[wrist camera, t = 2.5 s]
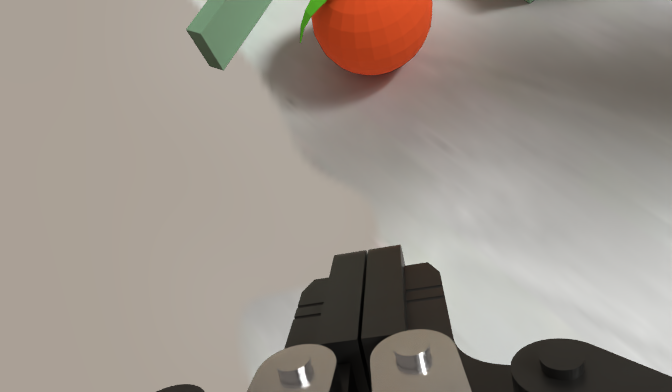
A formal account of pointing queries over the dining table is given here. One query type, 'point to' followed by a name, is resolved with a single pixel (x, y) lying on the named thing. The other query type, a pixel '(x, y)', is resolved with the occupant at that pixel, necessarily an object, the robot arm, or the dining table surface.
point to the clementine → (369, 32)
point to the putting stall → (226, 28)
